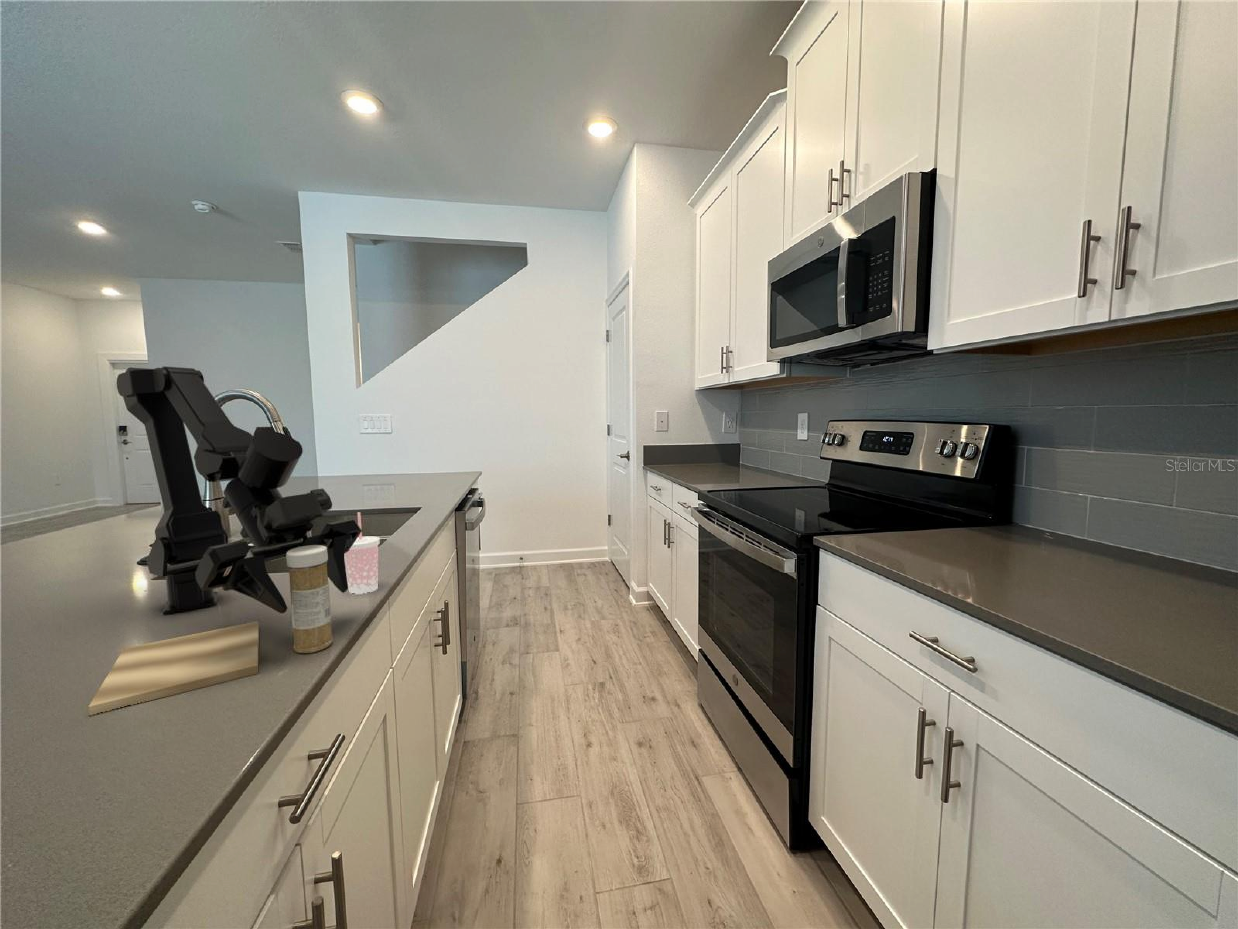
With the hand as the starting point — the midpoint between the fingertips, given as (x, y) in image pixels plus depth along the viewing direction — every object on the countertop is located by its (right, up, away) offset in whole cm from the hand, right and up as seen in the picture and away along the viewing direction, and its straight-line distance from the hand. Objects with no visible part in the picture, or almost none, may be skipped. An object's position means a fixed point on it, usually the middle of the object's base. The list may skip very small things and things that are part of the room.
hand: (316, 600), depth 64 cm
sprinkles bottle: (-1, -7, +1) cm, 7 cm away
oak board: (-14, -7, -3) cm, 16 cm away
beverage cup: (-6, -5, +23) cm, 24 cm away
